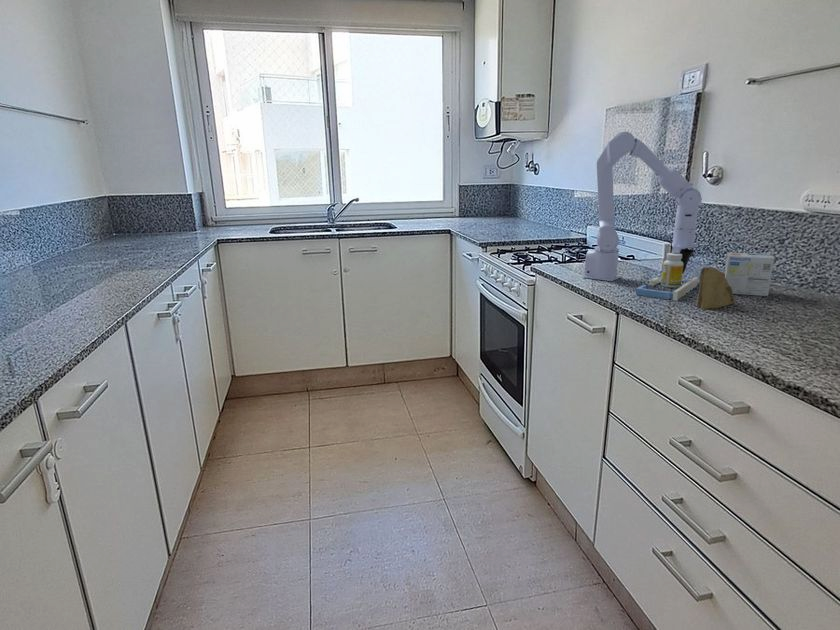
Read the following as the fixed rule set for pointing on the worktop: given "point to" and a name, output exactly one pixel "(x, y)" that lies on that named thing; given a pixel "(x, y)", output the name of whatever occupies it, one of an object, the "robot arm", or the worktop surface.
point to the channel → (666, 295)
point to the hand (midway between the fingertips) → (679, 273)
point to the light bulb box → (749, 273)
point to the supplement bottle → (672, 271)
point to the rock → (713, 289)
